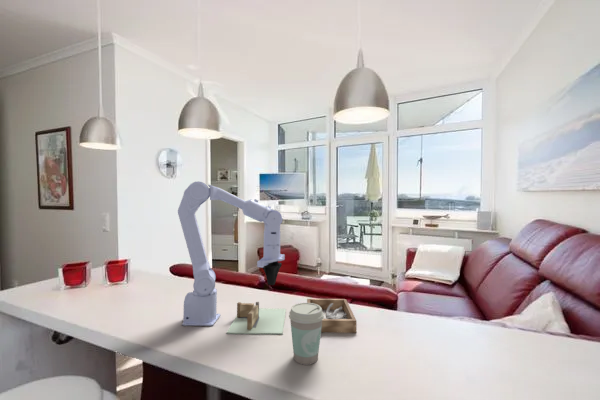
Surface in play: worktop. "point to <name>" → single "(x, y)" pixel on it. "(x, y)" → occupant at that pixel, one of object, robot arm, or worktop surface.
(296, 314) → the coffee cup
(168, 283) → the worktop surface
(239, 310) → the fixed rail
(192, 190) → the robot arm
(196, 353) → the worktop surface
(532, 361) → the worktop surface
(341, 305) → the box
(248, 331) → the mat
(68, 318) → the worktop surface
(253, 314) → the rail
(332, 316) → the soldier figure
